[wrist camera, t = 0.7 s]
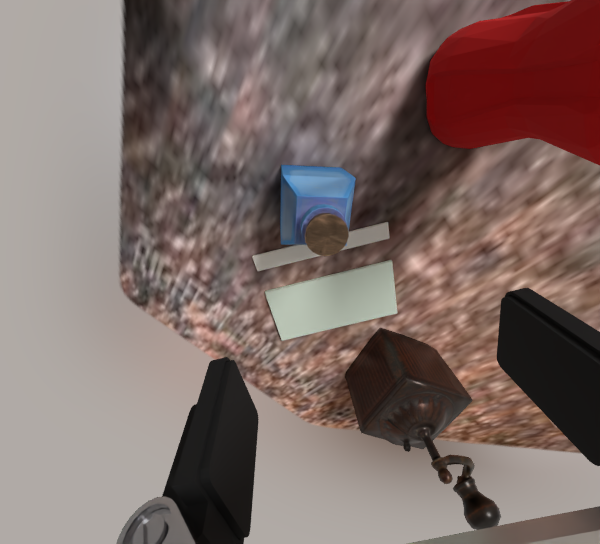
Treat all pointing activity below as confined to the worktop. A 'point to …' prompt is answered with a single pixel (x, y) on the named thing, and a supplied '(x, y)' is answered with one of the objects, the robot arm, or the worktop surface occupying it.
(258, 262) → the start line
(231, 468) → the robot arm
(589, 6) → the water bottle
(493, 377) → the worktop surface
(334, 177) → the perfume bottle
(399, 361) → the dark brown coffee grinder
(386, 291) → the mat
